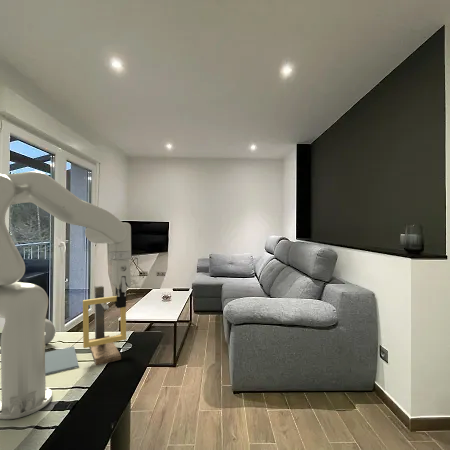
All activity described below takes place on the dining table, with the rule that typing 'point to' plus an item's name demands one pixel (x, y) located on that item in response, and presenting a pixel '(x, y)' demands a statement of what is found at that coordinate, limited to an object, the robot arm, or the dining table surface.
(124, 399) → the dining table surface
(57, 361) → the mat
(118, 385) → the dining table surface
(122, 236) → the robot arm
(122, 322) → the frame
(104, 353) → the stand
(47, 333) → the donut
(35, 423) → the dining table surface
